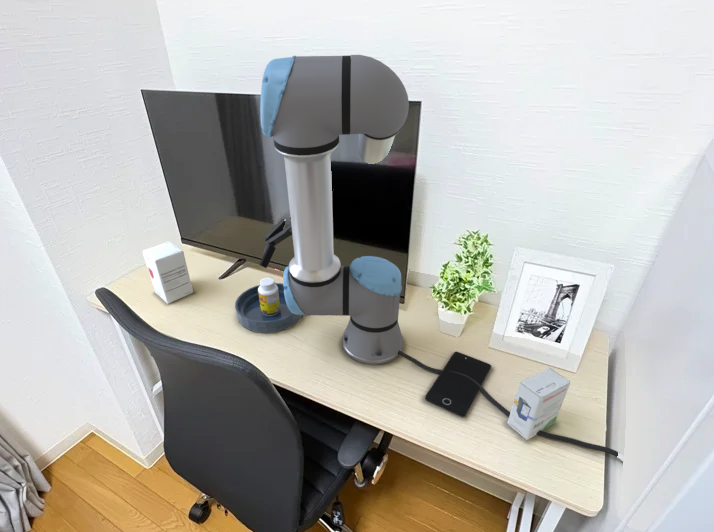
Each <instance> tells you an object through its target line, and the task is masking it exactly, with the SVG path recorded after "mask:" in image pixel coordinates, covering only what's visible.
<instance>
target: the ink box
mask: <svg viewBox="0 0 714 532" xmlns="http://www.w3.org/2000/svg"><path fill="white" fill-rule="evenodd" d="M571 383H572V382H571V380H569V379H568V378H567V377H564V375H562V374H561V373H558V372H557V371H556V370H554V369H552V368H551V367H548V368H546V369H544V370H542V371H540V372H538V373H536V374H534V375H532V376H530V377H528V378H526V379H524V380H522V381H520V382H519V385H518V388H517V391H516V394H515V397H514V401H513V403H512V407H511V410H510V416H509V417H508V418H507V422H506V424H507V425H508V426H509V427H510V428H512V429H513V430H514V431H515V432H516V433H517V434H519V435H520V436H521V437H522V438H523V439H525V441H529V440H531V439H532V438H533V437H535V436H537V434H536V433H537V432H538V431H539V430H541V431H545V430H546V429H548V428H549V427H551V426H552V425H555V423H556V421H557V418H558V416H559V413H560V411H561V408H562V405H563V404H564V400H565V398H566V396H567V393H568V391H569V388H570V386H571Z"/></svg>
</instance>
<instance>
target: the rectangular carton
mask: <svg viewBox="0 0 714 532" xmlns="http://www.w3.org/2000/svg"><path fill="white" fill-rule="evenodd" d="M142 256H143V258H144V261H145V264H146V267H147V270H148V274H149V276H150V280H151V283H152V286H153V289H154V292H155V294H156V295H157V296H158V297H159V298H161V299H162V301H164V302H165V304H167V305H169V304H171V303H173V302H175V301H178V300H180V299H182V298H185V297H187V296H189V295H191V294H194V290H193V286H192V282H191V276H190V273H189V269H188V265H187V261H186V257H185V253H184V250H182V249H181V248H180V247H178V246H177V245H176V244H174V243H172V242H171V241H166V242H164V243H160V244H158V245H155V246H152V247H148V248H146V249H144V250H142Z"/></svg>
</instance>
